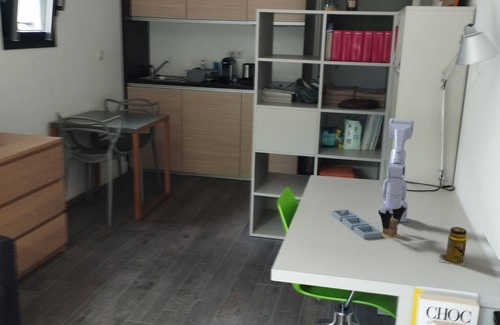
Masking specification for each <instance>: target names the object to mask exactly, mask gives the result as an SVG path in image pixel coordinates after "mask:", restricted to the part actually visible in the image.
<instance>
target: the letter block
mask: <svg viewBox="0 0 500 325" xmlns="http://www.w3.org/2000/svg"><path fill="white" fill-rule="evenodd" d="M398 226H399V225H398V220H397V219H394V218H391V220H390V224H389V228H388V229H384V228H383V227H382V231H383V234H386V235H389V236H393V235H396V234H397V233H398Z"/></svg>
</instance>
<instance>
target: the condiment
mask: <svg viewBox="0 0 500 325" xmlns="http://www.w3.org/2000/svg"><path fill="white" fill-rule="evenodd" d="M467 239H468V238H467V230H466V229H465V228H463V227H459V226H453V227H451V228H450V231H449V235H448V238H447V245H446V246H447V247H446V252H445V254H444V253H439V255H438V256H439V258H438V262H441V263H447V264H451V265H456V266H462V267H464V266H465V264H466V263H465V253H466V247H467V241H468V240H467Z"/></svg>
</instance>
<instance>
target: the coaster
mask: <svg viewBox="0 0 500 325" xmlns="http://www.w3.org/2000/svg"><path fill="white" fill-rule="evenodd" d="M380 231H381V232H382V236H383V237H384V238H386V239H393V238H394V239H395V238H403V236H404V235H403V236H402V235H401V234H400V233H398V232H397V234H396V235H393V236H389V235H386V234H383V230H380Z"/></svg>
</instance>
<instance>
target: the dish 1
mask: <svg viewBox="0 0 500 325" xmlns="http://www.w3.org/2000/svg"><path fill="white" fill-rule="evenodd" d="M342 211H347V213H348V215H347V216H341V212H342ZM330 215H331V216H332V217H334V218H335V219H336V220H337V221H339V222H342V218H351V217H358V215H357V214H356V213H355V212H353V211H352V210H350V209H349V208H347V209H336V210H335V209H333V210H331V214H330Z"/></svg>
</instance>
